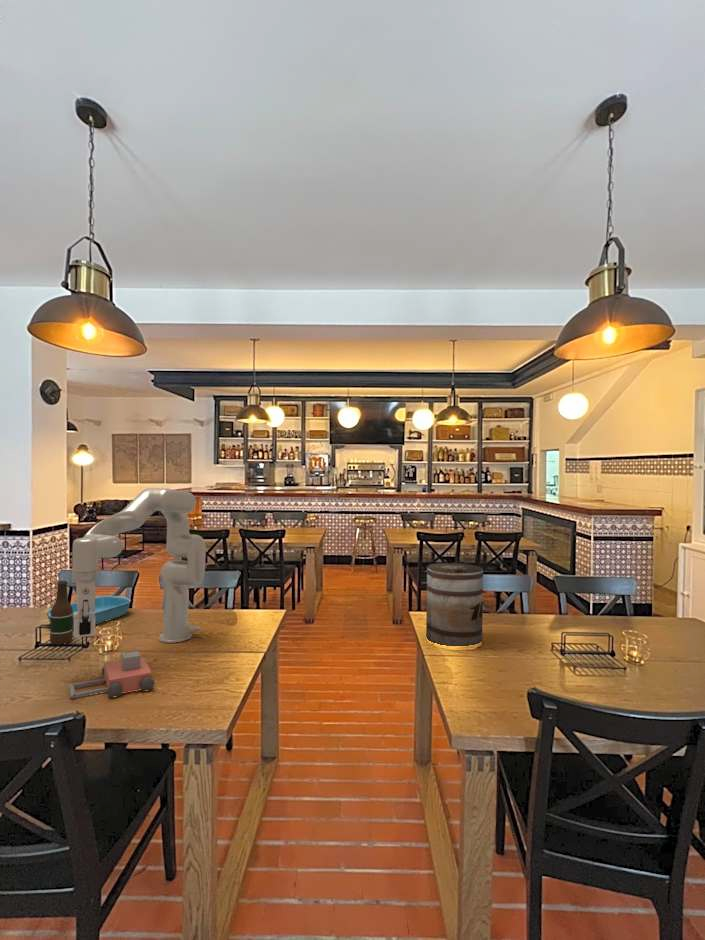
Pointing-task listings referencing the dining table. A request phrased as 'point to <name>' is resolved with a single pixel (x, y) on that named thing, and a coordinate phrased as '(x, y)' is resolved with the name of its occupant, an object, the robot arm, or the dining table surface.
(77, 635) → the stepped cream block
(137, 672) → the pink toy truck
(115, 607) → the casserole dish
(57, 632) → the beer bottle
